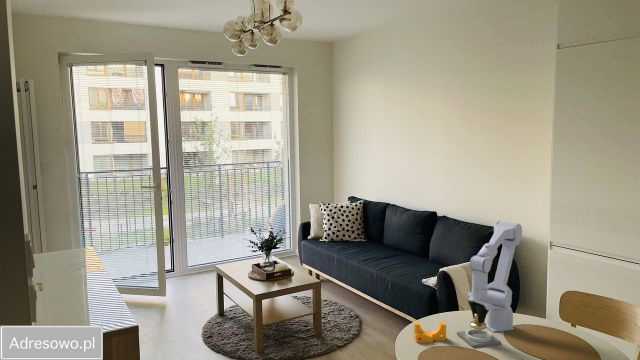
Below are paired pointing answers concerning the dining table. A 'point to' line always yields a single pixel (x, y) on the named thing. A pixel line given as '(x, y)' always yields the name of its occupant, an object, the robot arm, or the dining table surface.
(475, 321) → the brass cabinet knob
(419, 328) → the pipe clamp
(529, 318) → the dining table surface
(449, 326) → the dining table surface
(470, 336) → the carrier plate
